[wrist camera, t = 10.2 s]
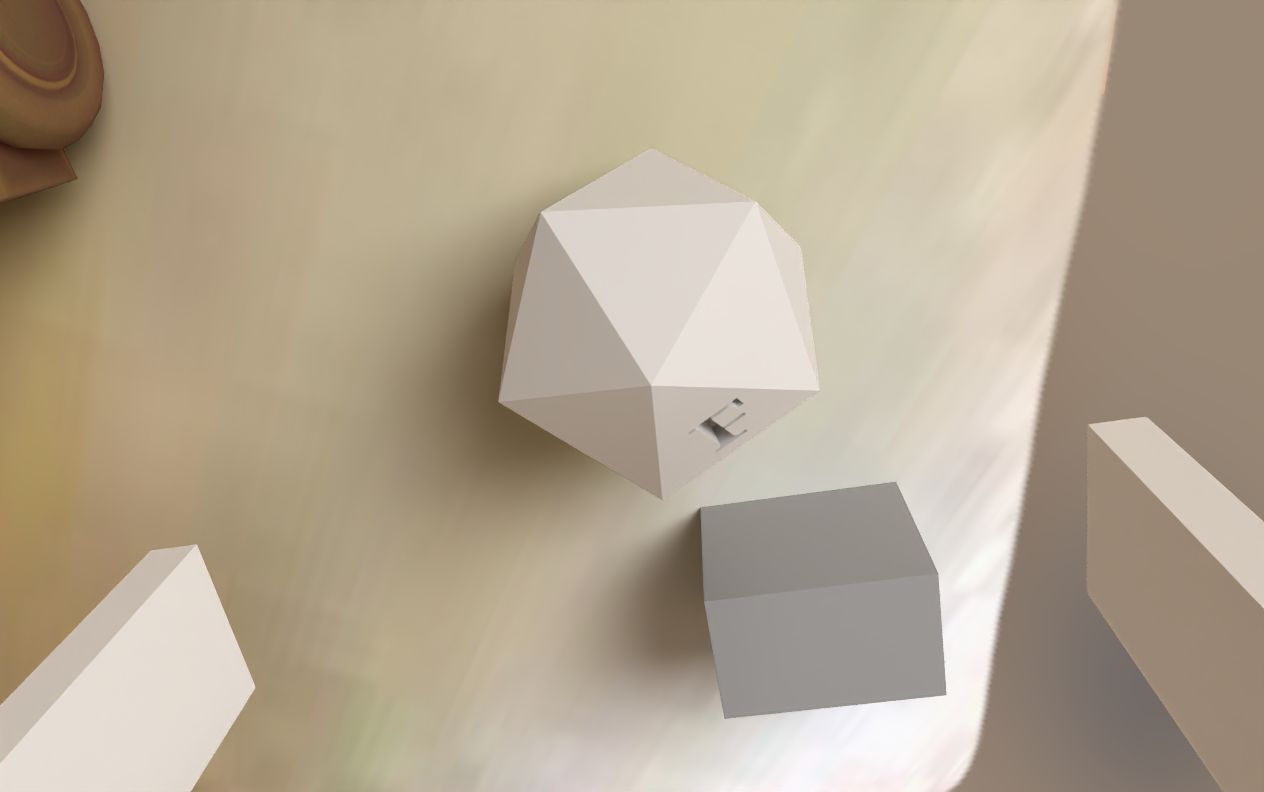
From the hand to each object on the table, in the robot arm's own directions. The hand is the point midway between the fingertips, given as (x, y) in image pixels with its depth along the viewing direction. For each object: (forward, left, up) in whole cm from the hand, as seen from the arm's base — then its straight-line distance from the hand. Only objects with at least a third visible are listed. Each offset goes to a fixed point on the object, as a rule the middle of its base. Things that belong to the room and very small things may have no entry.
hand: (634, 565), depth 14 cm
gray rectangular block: (+11, +3, -18) cm, 22 cm away
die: (0, 0, -19) cm, 19 cm away
